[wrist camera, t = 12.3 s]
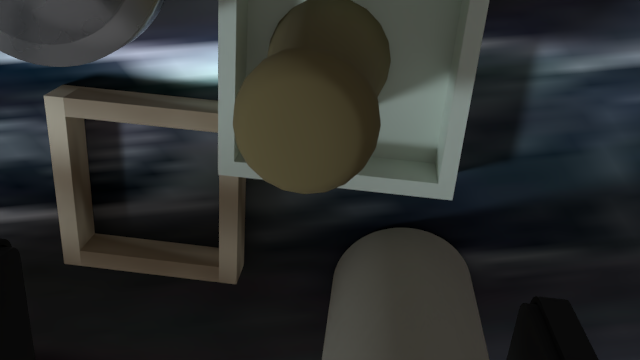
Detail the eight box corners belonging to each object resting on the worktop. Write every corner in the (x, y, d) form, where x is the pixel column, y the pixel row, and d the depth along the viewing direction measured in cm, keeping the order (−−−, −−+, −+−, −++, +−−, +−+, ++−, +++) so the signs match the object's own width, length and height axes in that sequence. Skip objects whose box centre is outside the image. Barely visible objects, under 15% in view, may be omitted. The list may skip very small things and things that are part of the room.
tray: (446, 174, 32) (452, 200, 30) (232, 151, 33) (217, 174, 30) (488, -59, 28) (499, -54, 25) (235, -80, 28) (218, -78, 25)
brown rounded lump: (243, 44, 30) (172, 115, 20) (344, -31, 28) (321, 6, 18) (315, 139, 32) (283, 248, 22) (414, 75, 30) (429, 162, 20)
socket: (243, 265, 36) (236, 284, 34) (80, 245, 37) (64, 263, 35) (247, 103, 32) (239, 115, 30) (63, 84, 33) (43, 95, 31)
